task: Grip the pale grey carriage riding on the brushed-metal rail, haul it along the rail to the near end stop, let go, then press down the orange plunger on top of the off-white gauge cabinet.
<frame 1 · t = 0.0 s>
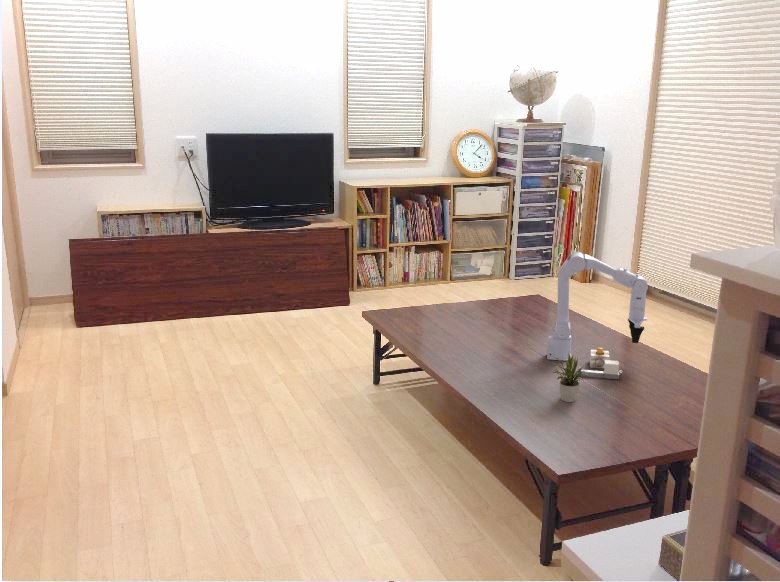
hand: (634, 339, 282), 10 cm above the table, fingers open, 7 cm apart
plunger: (600, 350, 282), point 6 cm above the table, slide at 0.0 cm
house plant: (566, 398, 253), on the table
rail: (599, 376, 271), on the table
carriage: (611, 369, 269), point 3 cm above the table, slide at 8.0 cm
gauge cabinet: (599, 364, 283), on the table
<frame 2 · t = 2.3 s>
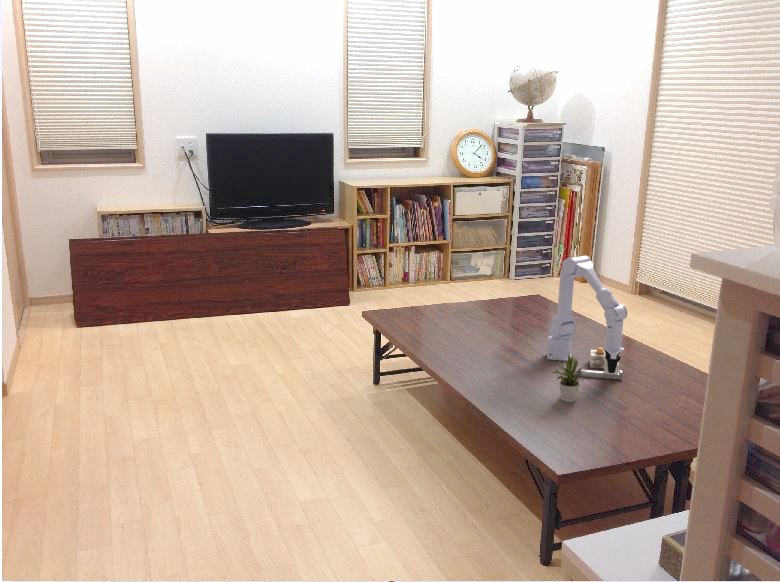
hand: (611, 370, 269), 3 cm above the table, fingers closed on carriage, 4 cm apart
carriage: (611, 369, 269), point 3 cm above the table, slide at 8.0 cm, touching gripper
everything else where it was.
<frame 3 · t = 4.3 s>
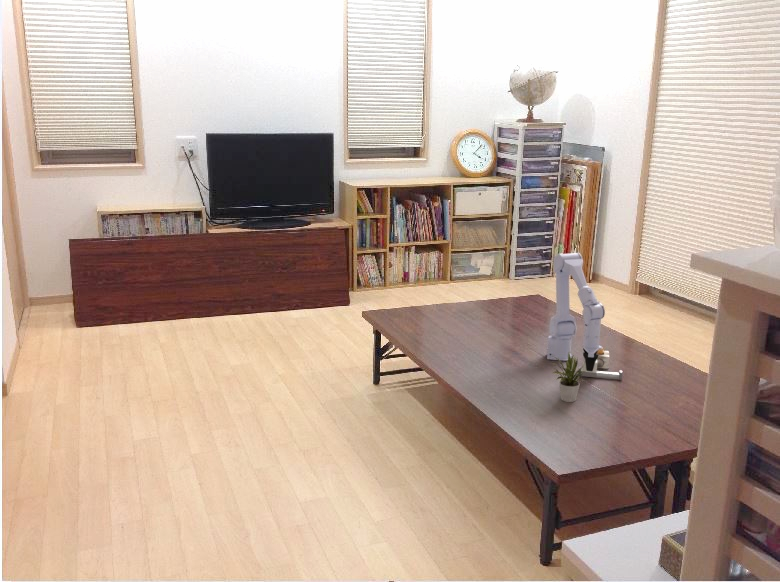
hand: (589, 368, 271), 3 cm above the table, fingers closed on carriage, 4 cm apart
carriage: (589, 367, 271), point 3 cm above the table, slide at 0.2 cm, touching gripper
everything else where it was.
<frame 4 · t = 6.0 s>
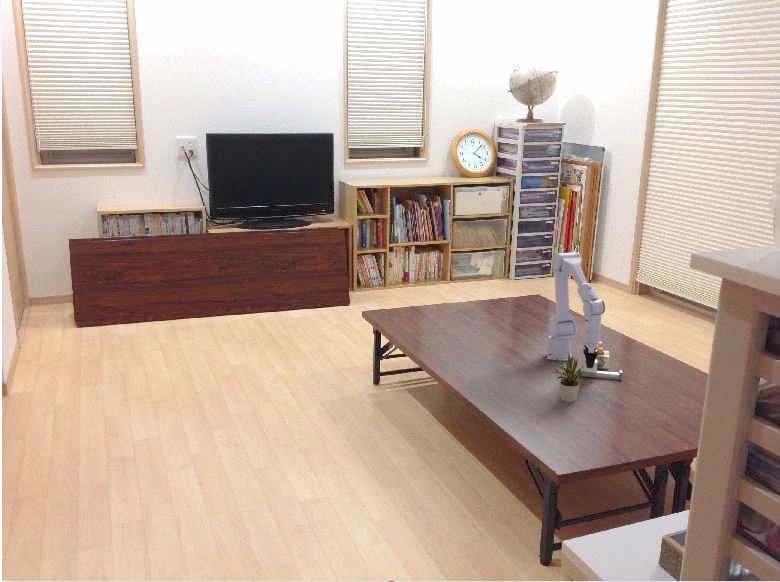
hand: (589, 364, 271), 5 cm above the table, fingers open, 7 cm apart
carriage: (589, 367, 271), point 3 cm above the table, slide at 0.2 cm
everything else where it was.
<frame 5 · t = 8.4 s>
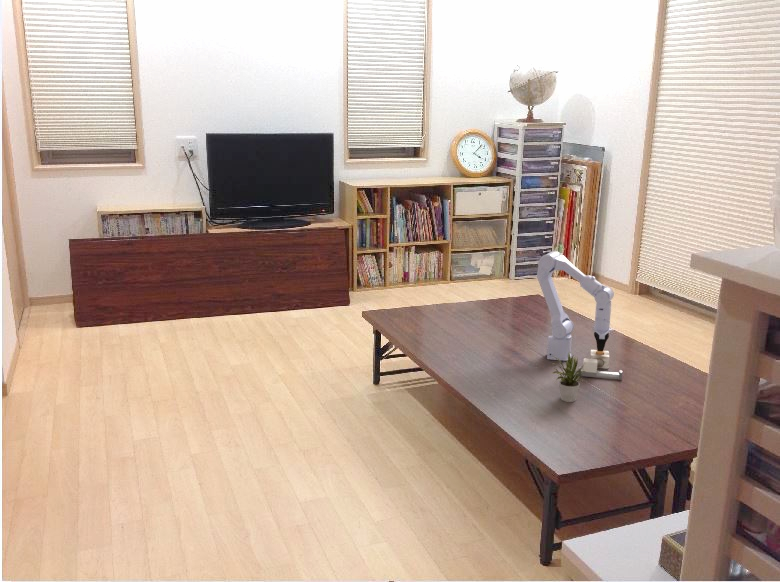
hand: (600, 350, 282), 6 cm above the table, fingers closed, pressing on plunger
plunger: (600, 352, 282), point 5 cm above the table, slide at 0.9 cm, touching gripper
everything else where it was.
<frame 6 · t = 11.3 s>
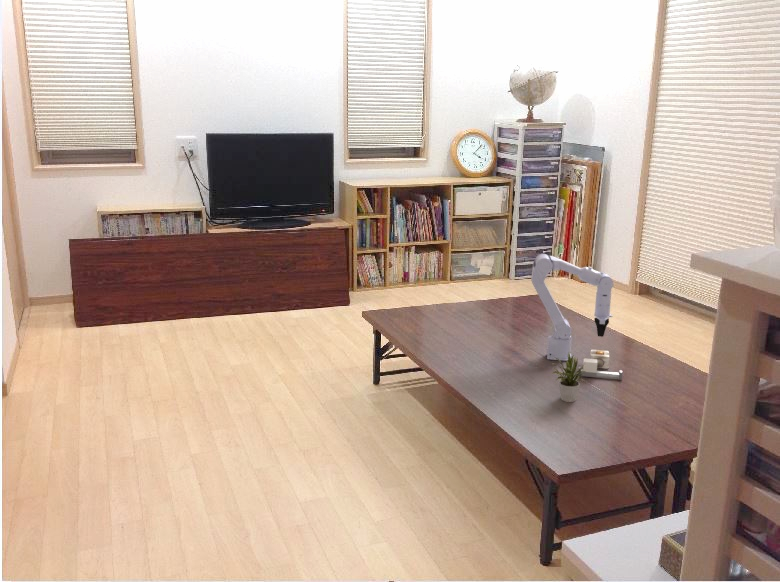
hand: (600, 336, 287), 10 cm above the table, fingers closed
plunger: (599, 354, 282), point 4 cm above the table, slide at 1.5 cm
everything else where it was.
at the end: carriage slide at 0.2 cm; plunger slide at 1.5 cm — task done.
